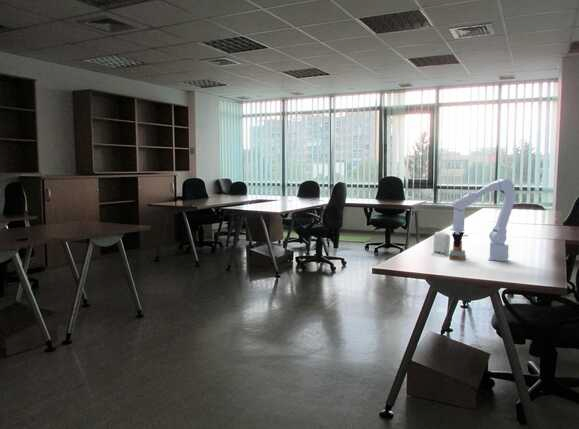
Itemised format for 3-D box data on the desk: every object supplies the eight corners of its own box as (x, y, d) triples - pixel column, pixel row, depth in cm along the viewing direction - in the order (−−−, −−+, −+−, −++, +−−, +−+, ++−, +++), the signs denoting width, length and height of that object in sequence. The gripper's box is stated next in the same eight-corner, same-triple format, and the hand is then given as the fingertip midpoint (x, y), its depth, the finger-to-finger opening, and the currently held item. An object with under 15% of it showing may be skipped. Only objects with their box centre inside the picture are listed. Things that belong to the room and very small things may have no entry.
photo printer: (450, 253, 280) (451, 232, 278) (445, 254, 278) (446, 233, 276) (437, 250, 289) (438, 230, 287) (432, 251, 287) (432, 230, 285)
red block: (461, 250, 265) (462, 241, 265) (460, 250, 262) (461, 241, 261) (454, 249, 267) (454, 240, 267) (453, 250, 263) (453, 241, 263)
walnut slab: (465, 258, 267) (465, 254, 267) (464, 261, 259) (465, 256, 259) (450, 257, 270) (450, 253, 270) (449, 259, 262) (449, 255, 262)
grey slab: (464, 254, 266) (465, 250, 266) (463, 256, 259) (463, 251, 259) (451, 253, 269) (451, 249, 269) (450, 255, 262) (450, 250, 262)
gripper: (452, 219, 271) (451, 243, 272) (449, 222, 257) (448, 247, 259) (465, 220, 268) (464, 244, 269) (463, 222, 255) (462, 248, 256)
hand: (457, 245), depth 264 cm, fingers open, 7 cm apart
